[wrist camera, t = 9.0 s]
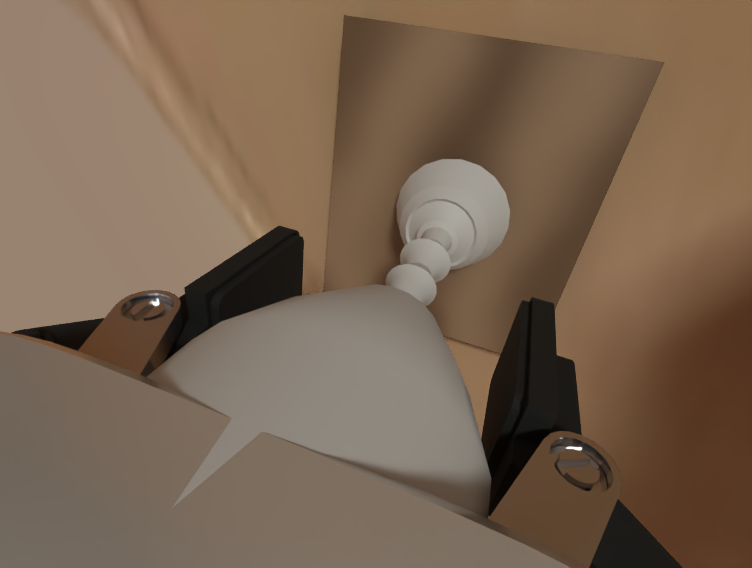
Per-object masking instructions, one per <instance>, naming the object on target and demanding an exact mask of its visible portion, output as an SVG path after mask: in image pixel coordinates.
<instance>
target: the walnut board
mask: <svg viewBox="0 0 752 568" xmlns="http://www.w3.org/2000/svg"><path fill="white" fill-rule="evenodd" d="M663 64H664V62H659V61H652V60H645V59H639V58H632V57H625V56H618V55H611V54H605V53H598V52H591V51H584V50H577V49H571V48H564V47H557V46H550V45H543V44H536V43H530V42H523V41H516V40H509V39H502V38H496V37H489V36H482V35H475V34H468V33H462V32H455V31H448V30H441V29H434V28H427V27H421V26H414V25H407V24H400V23H393V22H387V21H380V20H373V19H366V18H359V17H353V16H346V15H344V23H343V37H342V50H341V64H340V78H339V92H338V105H337V119H336V133H335V146H334V160H333V174H332V187H331V201H330V215H329V229H328V242H327V256H326V270H325V283H324V292H327V291H334V290H340V289H347V288H353V287H360V286H366V285H373V284H378V285H386V277H387V274H388V273H389V272H390V271H391V269H393V268H394V267H396V266H398V265H401V263H400V254H401V251H402V249H403V248H404V243H403V240H402V237H401V235H400V230H399V225H398V222H397V207H396V205H397V201H398V198H399V194H400V191H401V188H402V187H403V185H404V184H405V183H406V181H407V180H408V178H409V177H410V175H412V174H413V173H414V172H416V171H417V170H418V169H420V168H421V167H422V166H424V165H425V164H429V163H432V162H435V161H438V160H441V159H462V160H465V161H468V162H471V163H474V164H477V165H480V166H481V167H482V168H484V169H485V170H486V171H488V172H489V173H490V174H492V175H493V176H494V177H495V178H496V179H497V181H498V182H499V184H500V185H501V187H502V188H503V190H504V191H505V193H506V196H507V200H508V204H509V208H510V217H509V227H508V230H507V232H506V234H505V237H504V239H503V241H502V243H501V244H500V245H499V246H498V248H497V249H496V250H495V251H494V252H493V253H492V254H491V255H490V256H488V257H486V258H485V259H483V260H481V261H479V262H477V263H475V264H471V265H469V266H465V267H463V268H459V269H454V270H449V272H448V274H447V276H446V277H445V278H444V279H442V280H440V281H438V282H436V283H435V284H436V291H437V294H436V296H435V298H434V300H433V301H432V302H431V303H430V304H429V305H427V306H426V307H427V309H428V310H429V311H430V312H431V314H432V315H433V316H434V318H435V320H436V322H437V324H438V326H439V328H440V330H441V332H442V334H443V336H446V337H450V338H453V339H456V340H459V341H462V342H465V343H469V344H472V345H475V346H478V347H481V348H485V349H488V350H491V351H494V352H497V353H500V354H501V353H502V350H503V347H504V345H505V342H506V340H507V337H508V334H509V332H510V329H511V327H512V324H513V321H514V319H515V316H516V314H517V311H518V308H519V306H520V303H521V301H522V300H524V301H528V302H529V301H530V299H531V298H532V297H533V298H537V299H541V300H544V301H548V302H551V303H554V308H556V306H557V304H558V302H559V299H560V297H561V295H562V292H563V290H564V288H565V286H566V283H567V281H568V279H569V277H570V274H571V272H572V270H573V268H574V265H575V263H576V261H577V259H578V256H579V254H580V252H581V250H582V247H583V245H584V243H585V241H586V238H587V236H588V234H589V232H590V229H591V227H592V225H593V222H594V220H595V218H596V216H597V213H598V211H599V209H600V207H601V204H602V202H603V200H604V198H605V195H606V193H607V191H608V189H609V186H610V184H611V182H612V180H613V177H614V175H615V173H616V171H617V168H618V166H619V164H620V162H621V159H622V157H623V155H624V152H625V150H626V148H627V146H628V143H629V141H630V139H631V137H632V134H633V132H634V130H635V128H636V125H637V123H638V121H639V119H640V116H641V114H642V112H643V110H644V107H645V105H646V103H647V101H648V98H649V96H650V94H651V92H652V89H653V87H654V85H655V82H656V80H657V78H658V76H659V73H660V71H661V69H662V67H663Z"/></svg>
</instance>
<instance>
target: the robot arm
mask: <svg viewBox="0 0 752 568" xmlns="http://www.w3.org/2000/svg"><path fill="white" fill-rule="evenodd" d="M303 250H304V240H303V238H302V237H300V236H299V232H298V231H296V230H293V229H289V228H286V227H282V226H278V227H276V228H274V229H273V230H271V231H270V232H268V233H267V234H265V235H264V236H262V237H261V238H259V239H258V240H256V241H255V242H253V243H252V244H250V245H249V246H247V247H246V248H244V249H243V250H241V251H240V252H238V253H236V254H235V255H234V256H232V257H231V258H229V259H227V260H226V261H224V262H223V263H222V264H220V265H218V266H217V267H215V268H214V269H212V270H211V271H209V272H208V273H206V274H205V275H203V276H201V277H200V278H198V279H197V280H195V281H194V282H192V283H191V284H189V285H188V286H186V287H185V294H184V295H183V296H181V297H180V298H178V297H177V296H176V295H175V294H172V293H170V292H167V291H161V290H148V291H142V292H138V293H135V294H132V295H129V296H127V297H125V298H124V299H122V300H121V301H119V302H118V303H117V304H116V305H115V306H114V307H113V309H112V310H111V311H110V312H109V314H108V315H107V316H106V317H105V318H102V319H95V320H88V321H81V322H73V323H66V324H59V325H52V326H45V327H38V328H31V329H24V330H19V331H15V332H12V333H6V332H0V568H682V567H681V566H680V565H679V563H678V562H677V561H676V560H675V559H674V558H673V557H672V556H671V555H670V554H669V553H668V552H667V551H666V550H665V549H664V547H663V546H662V545H661V544H660V543H659V542H658V541H657V540H656V539H655V538H654V537H653V536H652V535H651V534H650V533H649V531H648V530H647V529H646V528H645V527H644V526H643V525H642V524H641V523H640V522H639V521H638V520H637V519H636V518H635V517H634V516H633V514H632V513H631V512H630V511H629V510H628V509H627V508H626V507H625V506H624V505H623V504H622V503H621V502H620V501H619V500H618V497H619V494H620V492H621V487H622V478H621V474H620V470H619V469H618V467H617V465H616V464H615V462H614V460H613V459H612V458H611V457H610V456H609V454H608V453H607V452H606V451H605V450H604V449H603V448H601V447H600V446H599V445H597V444H596V443H595V442H594V441H592V440H590V439H588V438H586V437H584V436H582V434H581V424H580V414H579V404H578V394H577V383H576V373H575V365H574V362H573V361H572V360H570V359H567V358H564V357H560V356H557V354H556V331H555V308H554V303H551V302H548V301H544V300H541V299H537V298H533V297H532V298H531V299H530V301H529V302H528V301H524V300H522V301H521V303H520V306H519V308H518V311H517V314H516V316H515V319H514V321H513V324H512V327H511V329H510V332H509V334H508V337H507V340H506V342H505V345H504V347H503V350H502V353H501V355H500V358H499V360H498V363H497V366H496V368H495V371H494V373H493V376H492V380H491V384H490V389H489V395H488V401H487V407H486V414H485V420H484V426H483V432H482V439H481V441H482V445H483V449H484V453H485V457H486V460H487V464H488V468H489V472H490V476H491V489H490V501H489V512H488V515H489V519H488V518H485V517H483V516H481V515H479V514H476V513H474V512H472V511H469V510H467V509H465V508H462V507H460V506H458V505H455V504H453V503H451V502H449V501H446V500H444V499H442V498H439V497H437V496H435V495H432V494H430V493H427V492H425V491H423V490H420V489H418V488H415V487H413V486H411V485H408V484H406V483H403V482H401V481H399V480H396V479H393V478H391V477H388V476H385V475H382V474H379V473H376V472H373V471H371V470H368V469H365V468H362V467H359V466H356V465H353V464H350V463H347V462H344V461H341V460H338V459H335V458H332V457H328V456H325V455H322V454H320V453H317V452H315V451H312V450H310V449H307V448H304V447H302V446H299V445H297V444H294V443H292V442H289V441H286V440H284V439H281V438H279V437H276V436H274V435H271V434H268V433H266V432H263V431H262V432H261V433H260V434H258V435H257V436H256V437H255V438H254V439H253V440H251V441H250V442H249V443H248V444H247V445H246V446H244V447H243V448H242V449H241V450H240V451H238V452H237V453H236V454H235V455H234V456H233V457H231V458H230V459H229V460H228V461H227V462H225V463H224V464H223V465H222V466H221V467H220V468H218V469H217V470H216V471H215V472H214V473H213V474H211V475H210V476H209V477H208V478H207V479H206V480H204V481H203V482H202V483H201V484H200V485H199V486H197V487H196V488H195V489H194V490H193V491H192V492H190V493H189V494H188V495H187V496H186V497H185V498H183V499H182V500H181V501H180V502H179V503H178V504H176V505H175V506H174V504H175V503H176V502H177V500H178V499H179V497H180V496H181V494H182V493H183V491H184V490H185V488H186V487H187V485H188V484H189V482H190V481H191V479H192V478H193V476H194V475H195V473H196V472H197V470H198V469H199V467H200V466H201V464H202V463H203V461H204V460H205V458H206V457H207V455H208V454H209V452H210V451H211V449H212V448H213V446H214V445H215V443H216V442H217V440H218V439H219V437H220V436H221V434H222V433H223V431H224V430H225V428H226V427H227V425H228V424H229V422H230V421H231V419H232V418H230V417H228V416H225V415H223V414H221V413H219V412H217V411H215V410H213V409H210V408H208V407H206V406H204V405H202V404H200V403H198V402H196V401H194V400H191V399H189V398H187V397H185V396H183V395H181V394H180V393H178V392H177V391H175V390H173V389H171V388H170V387H168V386H166V385H164V384H162V383H159V382H157V381H154V380H152V379H149V378H147V376H148V375H149V374H151V373H152V372H153V371H154V370H156V369H157V368H158V367H159V366H160V365H162V364H163V363H164V362H165V361H167V360H168V359H169V358H170V357H171V356H173V355H174V354H175V353H176V352H178V351H179V350H180V349H181V348H182V347H184V346H185V345H186V344H187V343H189V342H190V341H191V340H192V339H194V338H195V337H197V336H199V335H200V334H202V333H204V332H205V331H207V330H208V329H210V328H212V327H213V326H215V325H217V324H218V323H220V322H221V321H224V320H227V319H230V318H233V317H236V316H239V315H242V314H245V313H248V312H251V311H254V310H256V309H259V308H262V307H265V306H268V305H271V304H274V303H277V302H280V301H283V300H286V299H289V298H292V297H295V296H301V295H302V277H303ZM173 506H174V507H173ZM172 507H173V508H172Z"/></svg>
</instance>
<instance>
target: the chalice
mask: <svg viewBox="0 0 752 568" xmlns="http://www.w3.org/2000/svg"><path fill="white" fill-rule="evenodd" d="M396 207H397V222H398V225H399V230H400V235H401V237H402V240H403V243H404V248H403V249H402V251H401V254H400V263H401V265H398V266H396V267H394V268H393V269H391V271H390V272H389V273H388V274H387V277H386V285H378V284H373V285H366V286H360V287H353V288H347V289H340V290H334V291H327V292H321V293H314V294H308V295H301V296H295V297H292V298H289V299H286V300H283V301H280V302H277V303H274V304H271V305H268V306H265V307H262V308H259V309H256V310H254V311H251V312H248V313H245V314H242V315H239V316H236V317H233V318H230V319H227V320H224V321H221V322H220V323H218V324H217V325H215V326H213V327H212V328H210V329H208V330H207V331H205V332H204V333H202V334H200V335H199V336H197V337H195V338H194V339H192V340H191V341H190V342H189V343H187V344H186V345H185V346H184V347H182V348H181V349H180V350H179V351H178V352H176V353H175V354H174V355H173V356H171V357H170V358H169V359H168V360H167V361H165V362H164V363H163V364H162V365H160V366H159V367H158V368H157V369H156V370H154V371H153V372H152V373H151V374H149V375H148V376H147V378H149V379H152V380H154V381H157V382H159V383H162V384H164V385H166V386H168V387H170V388H171V389H173V390H175V391H177V392H178V393H180V394H181V395H183V396H185V397H187V398H189V399H191V400H194V401H196V402H198V403H200V404H202V405H204V406H206V407H208V408H210V409H213V410H215V411H217V412H219V413H221V414H223V415H225V416H228V417H230V418H232V419H231V421H230V422H229V424H228V425H227V427H226V428H225V430H224V431H223V433H222V434H221V436H220V437H219V439H218V440H217V442H216V443H215V445H214V446H213V448H212V449H211V451H210V452H209V454H208V455H207V457H206V458H205V460H204V461H203V463H202V464H201V466H200V467H199V469H198V470H197V472H196V473H195V475H194V476H193V478H192V479H191V481H190V482H189V484H188V485H187V487H186V488H185V490H184V491H183V493H182V494H181V496H180V497H179V499H178V500H177V502H176V503H175V504H174V506H175V505H176V504H178V503H179V502H180V501H181V500H182V499H183V498H185V497H186V496H187V495H188V494H189V493H190V492H192V491H193V490H194V489H195V488H196V487H197V486H199V485H200V484H201V483H202V482H203V481H204V480H206V479H207V478H208V477H209V476H210V475H211V474H213V473H214V472H215V471H216V470H217V469H218V468H220V467H221V466H222V465H223V464H224V463H225V462H227V461H228V460H229V459H230V458H231V457H233V456H234V455H235V454H236V453H237V452H238V451H240V450H241V449H242V448H243V447H244V446H246V445H247V444H248V443H249V442H250V441H251V440H253V439H254V438H255V437H256V436H257V435H258V434H260V433H261V432H262V431H263V432H266V433H268V434H271V435H274V436H276V437H279V438H281V439H284V440H286V441H289V442H292V443H294V444H297V445H299V446H302V447H304V448H307V449H310V450H312V451H315V452H317V453H320V454H322V455H325V456H328V457H332V458H335V459H338V460H341V461H344V462H347V463H350V464H353V465H356V466H359V467H362V468H365V469H368V470H371V471H373V472H376V473H379V474H382V475H385V476H388V477H391V478H393V479H396V480H399V481H401V482H403V483H406V484H408V485H411V486H413V487H415V488H418V489H420V490H423V491H425V492H427V493H430V494H432V495H435V496H437V497H439V498H442V499H444V500H446V501H449V502H451V503H453V504H455V505H458V506H460V507H462V508H465V509H467V510H469V511H472V512H474V513H476V514H479V515H481V516H483V517H485V518H488V512H489V501H490V489H491V476H490V472H489V468H488V464H487V460H486V457H485V453H484V449H483V445H482V441H481V438H480V434H479V430H478V426H477V422H476V419H475V415H474V411H473V407H472V403H471V400H470V396H469V393H468V391H467V388H466V386H465V383H464V381H463V378H462V375H461V373H460V370H459V368H458V365H457V363H456V361H455V359H454V357H453V355H452V353H451V351H450V349H449V347H448V345H447V343H446V340H445V338H444V336H443V334H442V332H441V330H440V328H439V326H438V324H437V322H436V320H435V318H434V316H433V315H432V314H431V312H430V311H429V310H428V309H427V307H426V306H427V305H429V304H430V303H431V302H432V301H433V300H434V298H435V296H436V294H437V291H436V284H435V283H436V282H438V281H440V280H442V279H444V278H445V277H446V276H447V274H448V272H449V270H454V269H459V268H463V267H465V266H469V265H471V264H475V263H477V262H479V261H481V260H483V259H485V258H486V257H488V256H490V255H491V254H492V253H493V252H494V251H495V250H496V249H497V248H498V246H499V245H500V244H501V243H502V241H503V239H504V237H505V234H506V232H507V230H508V227H509V217H510V208H509V204H508V200H507V196H506V193H505V191H504V190H503V188H502V187H501V185H500V184H499V182H498V181H497V179H496V178H495V177H494V176H493V175H492V174H490V173H489V172H488V171H486V170H485V169H484V168H482V167H481V166H480V165H477V164H474V163H471V162H468V161H465V160H462V159H441V160H438V161H435V162H432V163H429V164H425V165H424V166H422V167H421V168H420V169H418V170H417V171H416V172H414V173H413V174H412V175H410V177H409V178H408V180H407V181H406V183H405V184H404V185H403V187H402V188H401V191H400V194H399V198H398V201H397V205H396ZM174 506H173V507H174ZM173 507H172V508H173Z"/></svg>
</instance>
